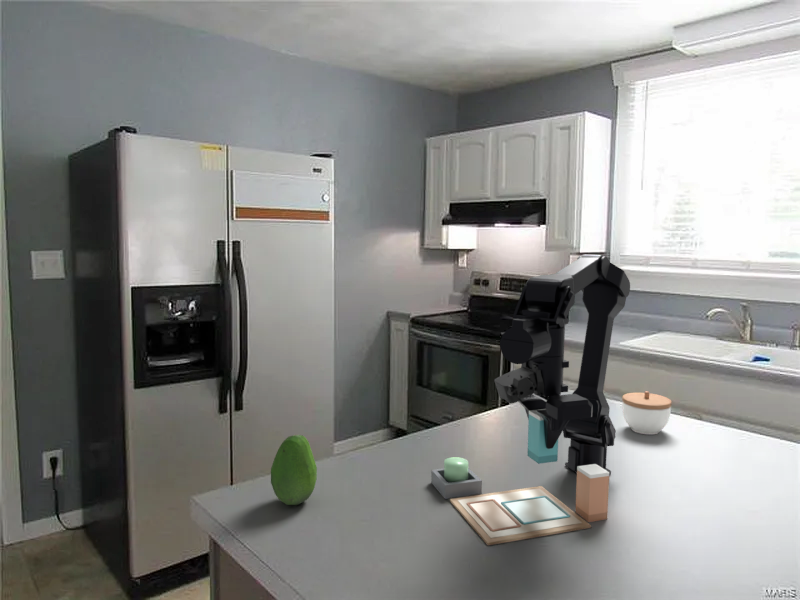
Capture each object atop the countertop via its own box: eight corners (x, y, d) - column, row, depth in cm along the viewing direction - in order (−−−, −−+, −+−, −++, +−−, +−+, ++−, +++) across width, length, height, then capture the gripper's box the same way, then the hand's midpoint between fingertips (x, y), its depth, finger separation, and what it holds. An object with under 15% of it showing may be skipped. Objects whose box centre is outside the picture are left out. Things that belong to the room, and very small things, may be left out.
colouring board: (541, 488, 106) (541, 484, 106) (590, 527, 92) (591, 523, 92) (449, 501, 101) (449, 497, 101) (487, 545, 87) (487, 541, 87)
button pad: (465, 477, 111) (466, 465, 110) (481, 493, 104) (481, 480, 104) (431, 482, 109) (431, 469, 108) (445, 498, 102) (445, 485, 102)
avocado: (325, 496, 103) (324, 430, 102) (303, 516, 96) (302, 446, 94) (285, 489, 106) (284, 425, 104) (261, 508, 98) (259, 440, 97)
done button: (462, 471, 109) (462, 456, 108) (472, 481, 105) (472, 465, 104) (440, 474, 108) (440, 458, 107) (449, 484, 103) (449, 467, 103)
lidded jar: (678, 438, 132) (680, 398, 131) (630, 438, 132) (632, 398, 131) (658, 423, 143) (660, 385, 142) (614, 422, 143) (616, 385, 142)
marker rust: (593, 509, 98) (595, 463, 98) (607, 519, 95) (609, 472, 94) (575, 511, 97) (577, 466, 96) (588, 522, 94) (590, 474, 93)
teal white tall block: (546, 453, 101) (547, 408, 100) (557, 461, 97) (559, 415, 96) (527, 455, 100) (528, 410, 99) (538, 463, 96) (539, 417, 95)
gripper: (477, 345, 103) (476, 430, 105) (531, 369, 85) (528, 471, 87) (533, 342, 106) (531, 424, 108) (596, 364, 88) (592, 463, 90)
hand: (543, 444), depth 98 cm, fingers closed on teal white tall block, 4 cm apart
